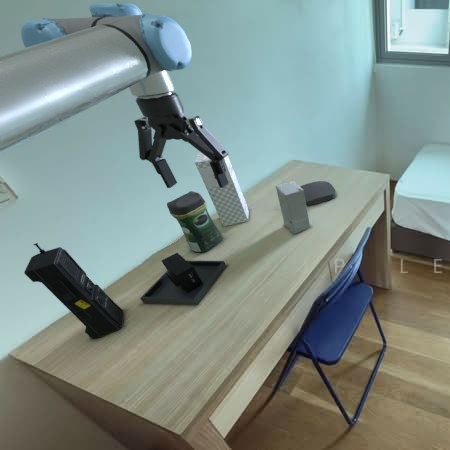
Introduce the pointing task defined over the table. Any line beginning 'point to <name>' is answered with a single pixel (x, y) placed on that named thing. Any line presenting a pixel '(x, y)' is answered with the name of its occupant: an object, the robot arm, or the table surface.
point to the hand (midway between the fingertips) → (198, 185)
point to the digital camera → (181, 272)
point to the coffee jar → (195, 221)
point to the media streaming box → (318, 192)
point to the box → (224, 192)
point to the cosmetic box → (293, 206)
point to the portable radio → (75, 291)
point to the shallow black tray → (171, 294)
